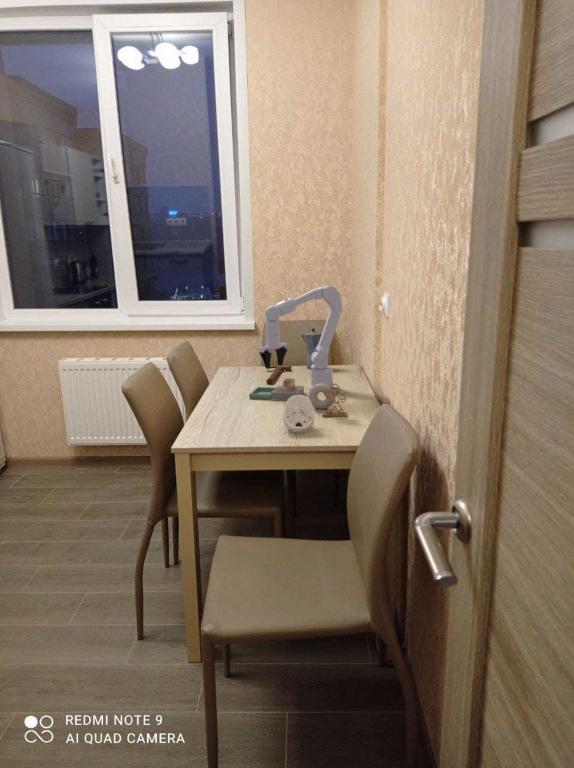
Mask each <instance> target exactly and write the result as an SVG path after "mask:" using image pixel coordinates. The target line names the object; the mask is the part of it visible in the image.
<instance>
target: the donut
mask: <svg viewBox="0 0 574 768" xmlns="http://www.w3.org/2000/svg"><path fill="white" fill-rule="evenodd" d="M324 389H328V390H329V392H330V390H331V391H332V390H333V391H334V389H330V386H329V385H327V384H323V383H320V384H316V385H314V386H313V387H312V388H311V389H309V392H308V398H309V399H310V401H311V403H312V406H313V408H316V409H319V410H325V409H326V410H327V408H328V406H329V405H330V398H327V397H331V402H334V396H332V394H329V393H325V395H326V396H327V397H326V396H325V395H324V396H325V398H324V399H323V400H321V399H319V397H318V395H319V394H320V393H323V391H324V392H325V391H326V392H327V391H328V390H324ZM333 391H332V392H333ZM330 393H331V392H330ZM333 394H334V392H333ZM332 405H334V404H333V403H331V405H330V406H329V408H330V407H331V406H332ZM329 408H328V409H329Z"/></svg>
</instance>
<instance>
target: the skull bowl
mask: <svg viewBox="0 0 574 768" xmlns="http://www.w3.org/2000/svg"><path fill="white" fill-rule="evenodd" d="M315 414H316V413H315V409H314V406H313V405H312V403H311V401H310V399H309V397H308V396H306V395H304V394H303V395H294V396H292V397H290V398H289V399H288V400H286V403H285V406H284V408H283V413H282V417H283V418H282V419H283V425H284V427H286V428H288V430H290V431H291V432H293V433H296V434H303V433H305V432H307V431H309V430H310V428H312V427H313V425H314V423H315ZM297 424H300V425H301V426H297Z"/></svg>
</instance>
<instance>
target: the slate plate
mask: <svg viewBox="0 0 574 768" xmlns="http://www.w3.org/2000/svg"><path fill="white" fill-rule="evenodd" d="M304 393H305V387H304V385H295V389H294V390H293V391H287V390H283V384H282V385H280V384H279V385H277V386H276V388H275V389H274V390H273V391H272V392H271V397H272V399H271V400H272V401H287V400H288V399H289V398H290V397H292V396H294V395H304Z"/></svg>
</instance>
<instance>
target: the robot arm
mask: <svg viewBox="0 0 574 768" xmlns="http://www.w3.org/2000/svg"><path fill="white" fill-rule="evenodd" d="M341 299H342V298H341V293H340V292H339V291H338V289H337V288H336V287H335V286H333V285H331V284H324V285H323V286H319V287H315V288H313V289H311V290H310V291H307V292H306V293H303V294H302V295H299V296H297V297H295V298H291V297H289V298H287V297H284V298H283V300H282V301H280V302H278V303H273V305H270V306H268V307H267V308H266V309H265V311H264V316H265V319H266V320H265V323H266V324H265V335H266V336H265V337H266V344H265V345H264V346H261V347H259V353H258V354H259V355H260V357H261V359H262V360H263V364H264V368H265V369H266V368H268V369H267V370H270V369H269V368H270V367H271V358H272V352H270V351H275V353H276V361H277V366H284V365H283V364H284V360H285V357H286V354H287V352H288V346H287V345H288V343H287V342H281V335H280V334H281V330H280V329H281V328H280V321H279V320H280V317H284V316H287V315H288V314H291V313H293V312H294V311H295V312H296V310H297V308H298V307H299V306H300V305H303V304H305V303H307V302H309V301H313V300H324V301H325V302H326V304H327V306H328V307H329V312H328V315H327V318H326V321H325V324H324V326H323V329H322V332H321V333H322V335H321V338H320V341H319V344H318V345H317V347H316V349H315V351H314V352H313V353H312V355H311V361H312V362H313V365H312V366H311V369H310V385H309V388H308V389H309V390H310V389H311V388H312V387H313V386H314V385H316V384H320V383H323V384H327V385H329V386H331V385H332V384H334V370H333V369H334V368H332V367H329V366H328V364H329V358H328V357H329V353H330V347H331V344H332V341H333V339H334V335H335V332H336V329H337V327H338V324H339V320H340V318H341V315H342V312H343V303H342V300H341ZM332 387H334V385H332V386H331V388H332Z"/></svg>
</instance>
